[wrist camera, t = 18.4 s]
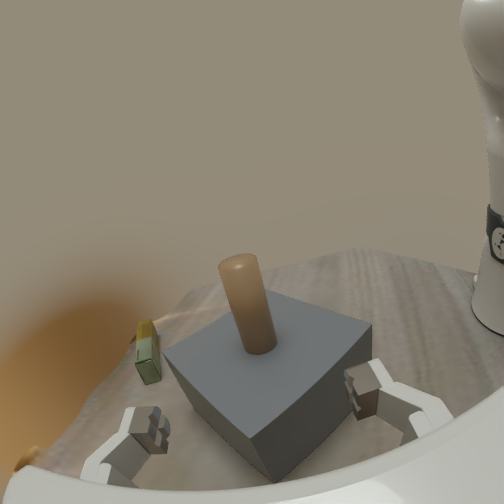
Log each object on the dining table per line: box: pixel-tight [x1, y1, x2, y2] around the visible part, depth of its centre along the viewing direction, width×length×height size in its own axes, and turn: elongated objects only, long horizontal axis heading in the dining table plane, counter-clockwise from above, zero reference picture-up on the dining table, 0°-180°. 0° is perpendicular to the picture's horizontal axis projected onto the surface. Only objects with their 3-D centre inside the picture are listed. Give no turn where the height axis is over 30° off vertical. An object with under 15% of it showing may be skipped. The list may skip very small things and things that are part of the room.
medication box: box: [135, 319, 161, 385], centre depth 39 cm, size 12×3×4 cm, turn 19°
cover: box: [162, 254, 372, 484], centre depth 24 cm, size 14×14×17 cm
